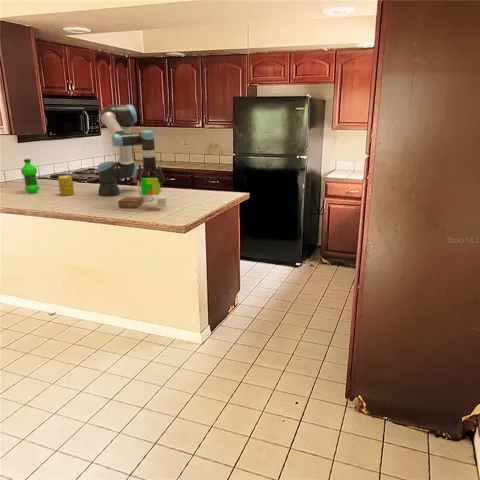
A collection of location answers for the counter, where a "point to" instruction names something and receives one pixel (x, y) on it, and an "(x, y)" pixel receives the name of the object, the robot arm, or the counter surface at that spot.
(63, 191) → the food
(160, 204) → the beige wooden block
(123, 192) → the counter surface
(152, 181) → the puzzle toy
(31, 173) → the plastic bottle
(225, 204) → the counter surface
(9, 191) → the counter surface
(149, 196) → the jar
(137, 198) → the walnut block
